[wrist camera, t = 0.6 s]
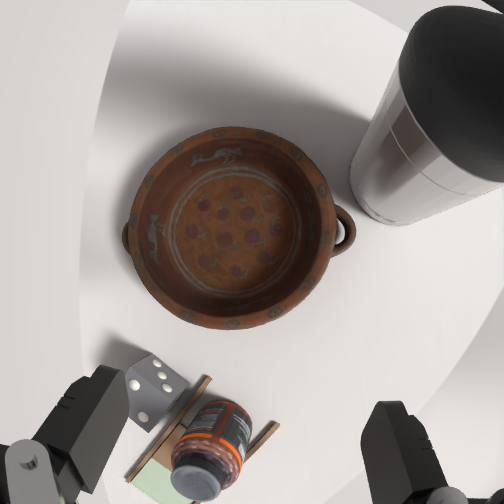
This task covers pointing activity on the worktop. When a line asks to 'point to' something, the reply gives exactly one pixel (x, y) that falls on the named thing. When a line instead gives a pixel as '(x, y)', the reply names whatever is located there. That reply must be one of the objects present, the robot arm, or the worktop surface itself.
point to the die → (152, 391)
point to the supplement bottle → (211, 451)
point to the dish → (234, 228)
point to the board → (159, 466)
